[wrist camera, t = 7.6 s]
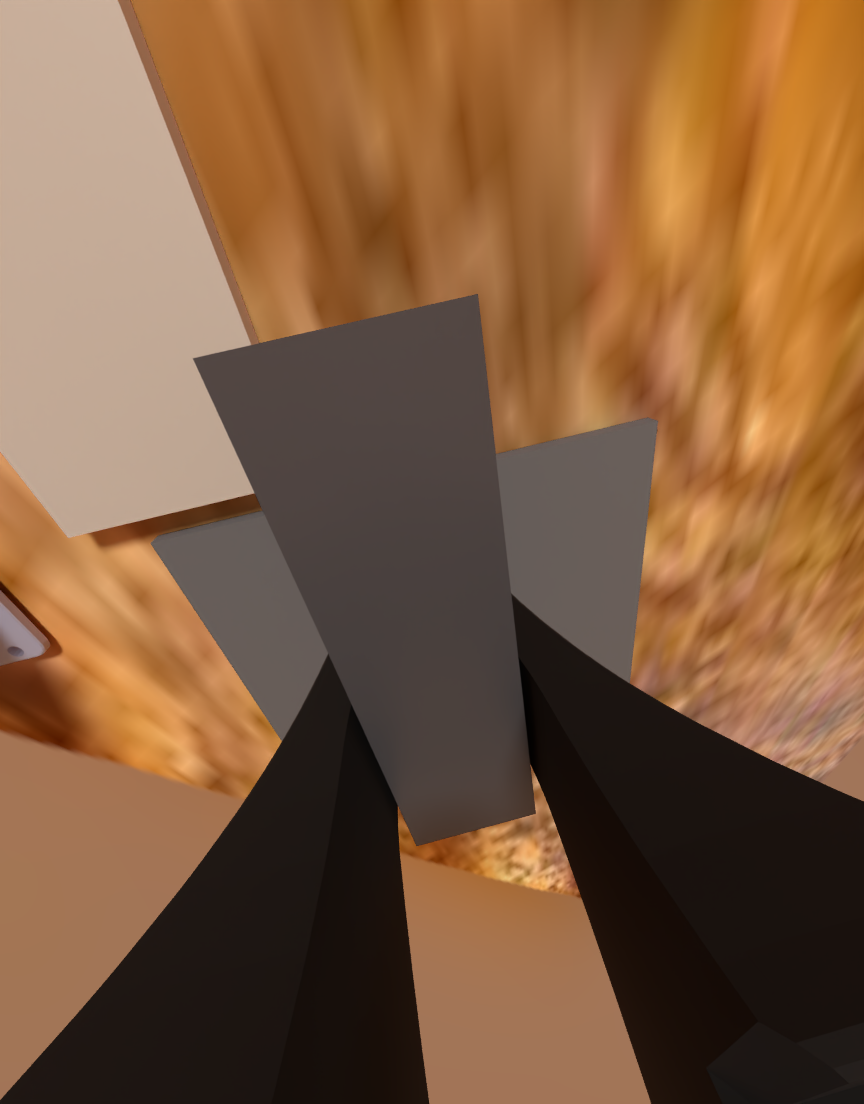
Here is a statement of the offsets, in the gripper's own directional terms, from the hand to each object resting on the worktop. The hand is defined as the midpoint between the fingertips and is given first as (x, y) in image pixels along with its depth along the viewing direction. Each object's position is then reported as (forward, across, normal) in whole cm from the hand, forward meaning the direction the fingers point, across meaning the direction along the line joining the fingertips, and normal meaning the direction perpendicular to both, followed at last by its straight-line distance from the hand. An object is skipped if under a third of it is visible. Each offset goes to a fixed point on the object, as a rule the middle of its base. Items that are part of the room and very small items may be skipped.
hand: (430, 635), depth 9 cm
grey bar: (+3, 0, +1) cm, 3 cm away
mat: (+7, 0, +6) cm, 9 cm away
